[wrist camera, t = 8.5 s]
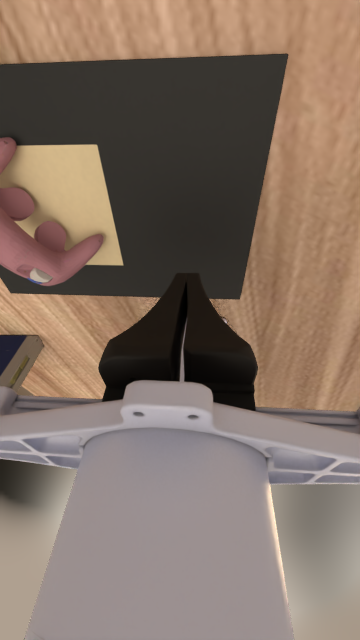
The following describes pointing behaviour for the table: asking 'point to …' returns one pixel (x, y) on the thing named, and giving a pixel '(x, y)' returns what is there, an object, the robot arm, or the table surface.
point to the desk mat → (143, 165)
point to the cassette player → (17, 358)
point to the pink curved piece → (36, 237)
